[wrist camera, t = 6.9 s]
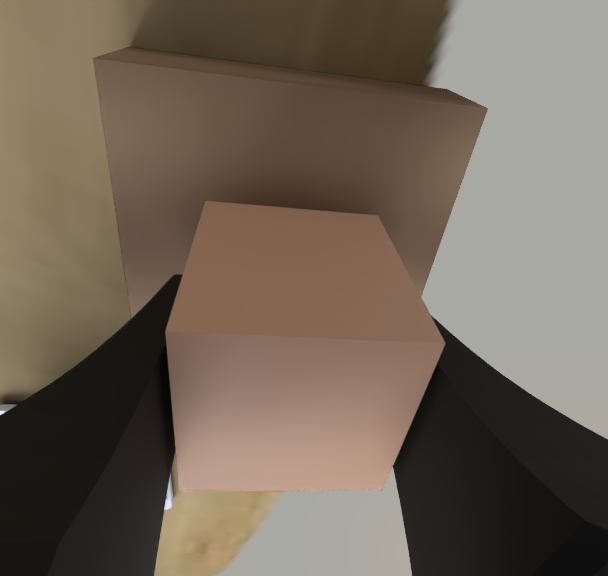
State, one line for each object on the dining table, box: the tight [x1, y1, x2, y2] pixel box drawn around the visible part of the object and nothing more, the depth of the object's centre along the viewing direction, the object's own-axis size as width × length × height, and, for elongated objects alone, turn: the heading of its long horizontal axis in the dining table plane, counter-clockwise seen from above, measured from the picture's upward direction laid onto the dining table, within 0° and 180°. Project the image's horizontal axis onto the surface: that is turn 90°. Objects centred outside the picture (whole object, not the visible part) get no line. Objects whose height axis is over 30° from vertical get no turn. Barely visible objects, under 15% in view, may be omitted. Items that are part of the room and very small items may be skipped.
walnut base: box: [93, 47, 488, 318], centre depth 14 cm, size 10×10×3 cm
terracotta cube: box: [165, 201, 446, 492], centre depth 10 cm, size 4×4×5 cm
